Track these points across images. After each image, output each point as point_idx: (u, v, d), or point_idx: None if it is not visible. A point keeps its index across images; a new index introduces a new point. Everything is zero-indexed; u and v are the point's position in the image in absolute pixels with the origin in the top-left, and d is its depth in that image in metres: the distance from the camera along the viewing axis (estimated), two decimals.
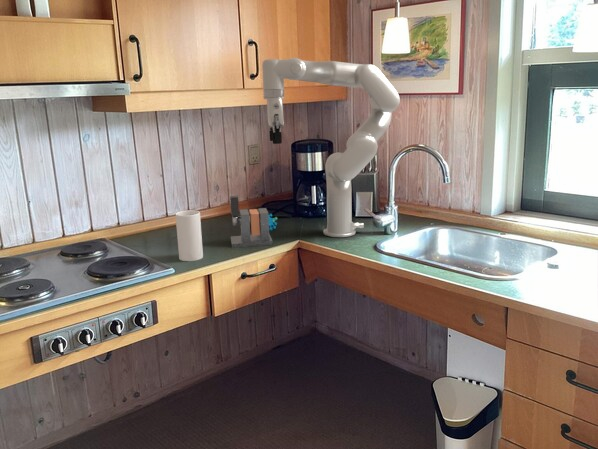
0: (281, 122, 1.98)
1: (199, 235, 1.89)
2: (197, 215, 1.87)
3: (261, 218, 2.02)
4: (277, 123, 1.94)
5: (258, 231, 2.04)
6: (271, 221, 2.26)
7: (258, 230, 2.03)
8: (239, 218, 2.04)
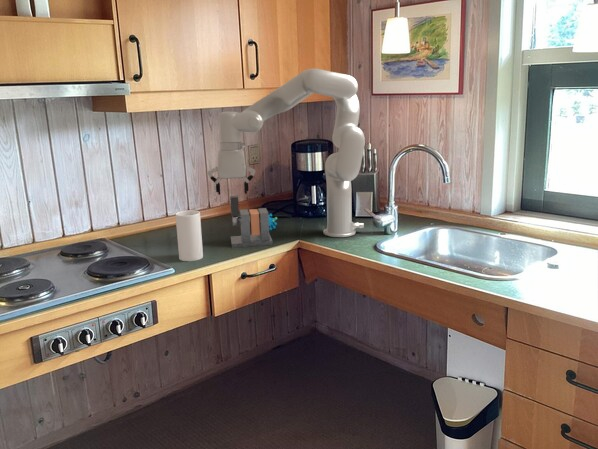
0: None
1: (199, 235, 1.89)
2: (197, 215, 1.87)
3: (261, 218, 2.02)
4: (254, 172, 2.02)
5: (258, 231, 2.04)
6: (271, 221, 2.26)
7: (258, 230, 2.03)
8: (239, 218, 2.04)
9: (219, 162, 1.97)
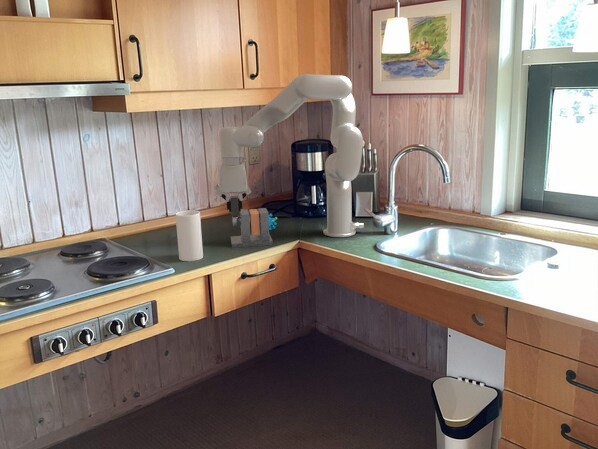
0: None
1: (199, 235, 1.89)
2: (197, 215, 1.87)
3: (261, 218, 2.02)
4: (249, 193, 2.03)
5: (258, 231, 2.04)
6: (271, 221, 2.26)
7: (258, 230, 2.03)
8: (239, 218, 2.04)
9: (221, 177, 1.98)
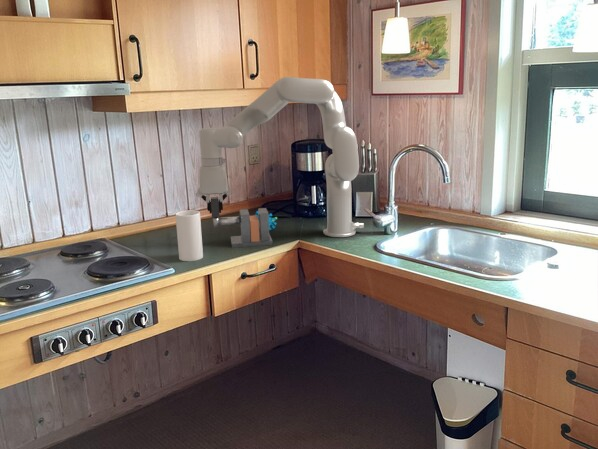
0: None
1: (199, 235, 1.89)
2: (197, 215, 1.87)
3: (261, 218, 2.02)
4: None
5: (258, 237, 2.04)
6: (270, 221, 2.27)
7: (258, 236, 2.04)
8: (220, 219, 2.03)
9: (200, 178, 1.97)
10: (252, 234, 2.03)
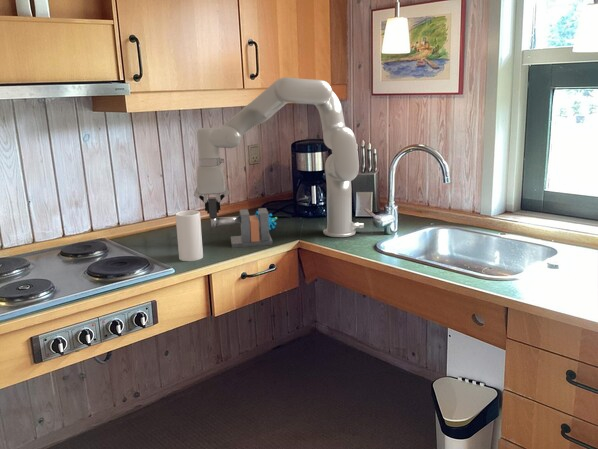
0: None
1: (199, 235, 1.89)
2: (197, 215, 1.87)
3: (261, 218, 2.02)
4: (228, 194, 2.02)
5: (258, 237, 2.04)
6: (270, 221, 2.27)
7: (258, 236, 2.04)
8: (217, 219, 2.03)
9: (198, 178, 1.97)
10: (252, 234, 2.03)
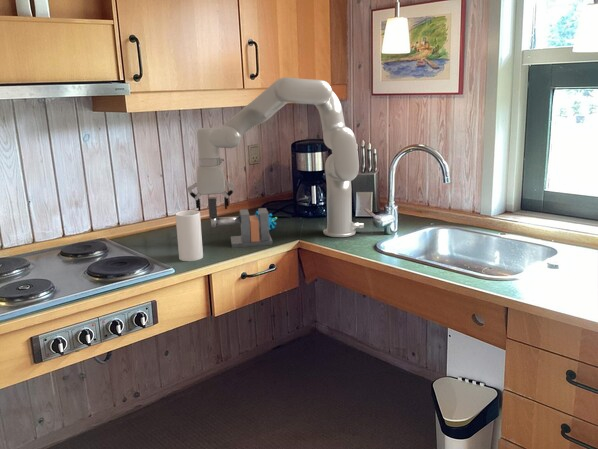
0: None
1: (199, 235, 1.89)
2: (197, 215, 1.87)
3: (261, 218, 2.02)
4: (234, 187, 2.02)
5: (258, 237, 2.04)
6: (270, 221, 2.27)
7: (258, 236, 2.04)
8: (217, 219, 2.03)
9: (198, 178, 1.97)
10: (252, 234, 2.03)
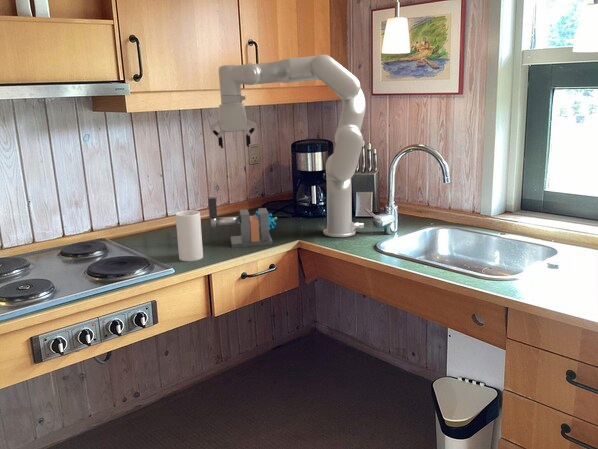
0: None
1: (199, 235, 1.89)
2: (197, 215, 1.87)
3: (261, 218, 2.02)
4: None
5: (258, 237, 2.04)
6: (270, 221, 2.27)
7: (258, 236, 2.04)
8: (217, 219, 2.03)
9: (221, 115, 2.01)
10: (252, 234, 2.03)
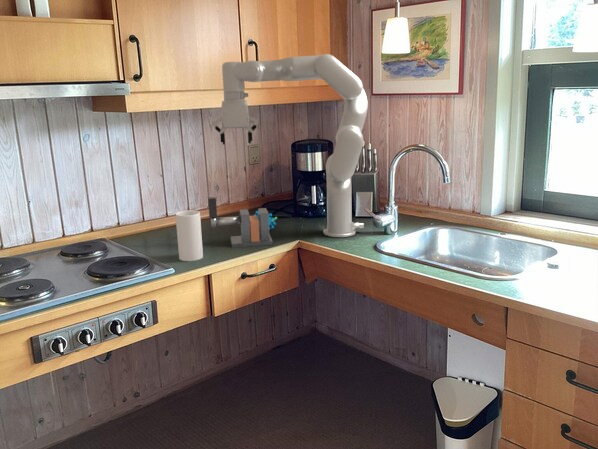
0: None
1: (199, 235, 1.89)
2: (197, 215, 1.87)
3: (261, 218, 2.02)
4: (258, 122, 2.06)
5: (258, 237, 2.04)
6: (270, 221, 2.27)
7: (258, 236, 2.04)
8: (217, 219, 2.03)
9: (223, 112, 2.02)
10: (252, 234, 2.03)
